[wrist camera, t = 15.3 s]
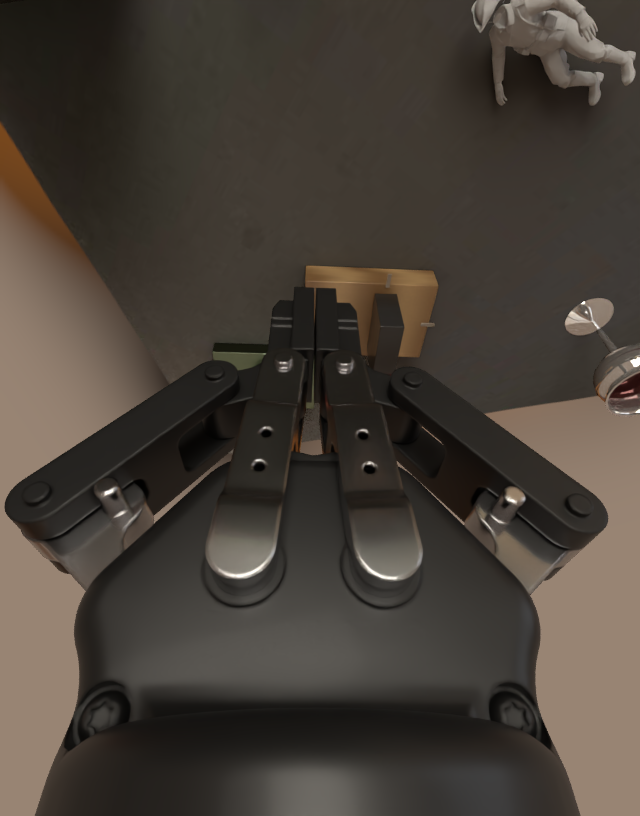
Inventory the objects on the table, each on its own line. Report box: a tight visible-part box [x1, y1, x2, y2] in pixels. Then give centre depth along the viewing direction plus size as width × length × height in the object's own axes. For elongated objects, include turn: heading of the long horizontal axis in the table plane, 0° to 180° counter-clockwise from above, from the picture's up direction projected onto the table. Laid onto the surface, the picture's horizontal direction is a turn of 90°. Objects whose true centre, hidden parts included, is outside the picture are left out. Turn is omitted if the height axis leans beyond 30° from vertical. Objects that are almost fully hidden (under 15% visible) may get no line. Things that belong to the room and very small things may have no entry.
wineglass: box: [565, 298, 640, 417], centre depth 44 cm, size 7×7×12 cm
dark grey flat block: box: [367, 293, 405, 375], centre depth 43 cm, size 7×2×6 cm, turn 178°
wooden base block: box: [305, 266, 439, 357], centre depth 46 cm, size 14×11×3 cm
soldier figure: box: [471, 0, 635, 106], centre depth 30 cm, size 8×5×12 cm
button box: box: [212, 343, 314, 409], centre depth 53 cm, size 12×9×4 cm
